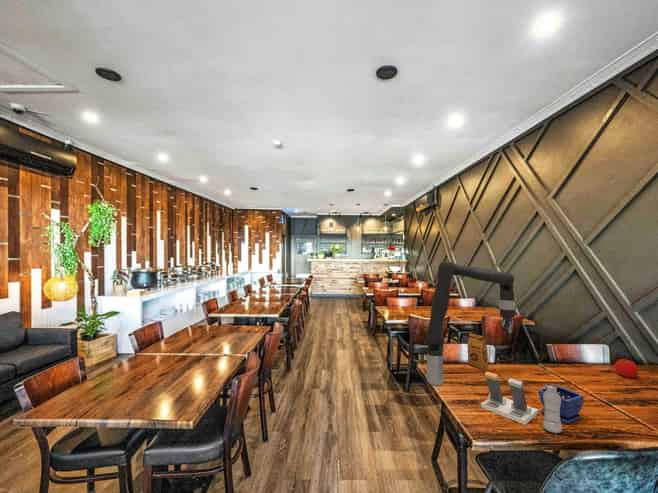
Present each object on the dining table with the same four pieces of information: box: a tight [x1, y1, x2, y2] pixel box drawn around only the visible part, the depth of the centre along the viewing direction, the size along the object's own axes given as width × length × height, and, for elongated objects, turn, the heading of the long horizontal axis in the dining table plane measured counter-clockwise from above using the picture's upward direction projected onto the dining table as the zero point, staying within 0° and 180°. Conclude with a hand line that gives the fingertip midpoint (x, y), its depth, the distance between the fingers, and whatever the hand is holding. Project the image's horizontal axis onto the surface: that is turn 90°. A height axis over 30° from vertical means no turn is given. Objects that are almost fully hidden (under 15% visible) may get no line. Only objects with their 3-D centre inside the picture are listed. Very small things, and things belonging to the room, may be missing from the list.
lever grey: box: [507, 377, 528, 412], centre depth 143 cm, size 2×5×16 cm, turn 37°
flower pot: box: [538, 385, 585, 425], centre depth 142 cm, size 13×13×12 cm
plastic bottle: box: [543, 383, 563, 434], centre depth 131 cm, size 6×7×20 cm
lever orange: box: [484, 371, 503, 403], centre depth 151 cm, size 2×5×16 cm, turn 37°
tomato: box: [614, 358, 639, 379], centre depth 189 cm, size 10×11×11 cm
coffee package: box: [466, 333, 489, 370], centre depth 208 cm, size 10×12×22 cm
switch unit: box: [480, 393, 539, 426], centre depth 148 cm, size 16×20×5 cm
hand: (508, 339), depth 165 cm, fingers closed
